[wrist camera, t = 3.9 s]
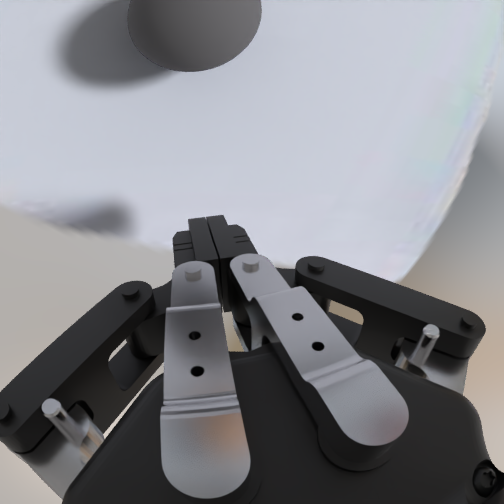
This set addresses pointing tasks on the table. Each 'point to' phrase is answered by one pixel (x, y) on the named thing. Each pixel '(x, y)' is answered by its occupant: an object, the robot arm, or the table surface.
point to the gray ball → (192, 31)
